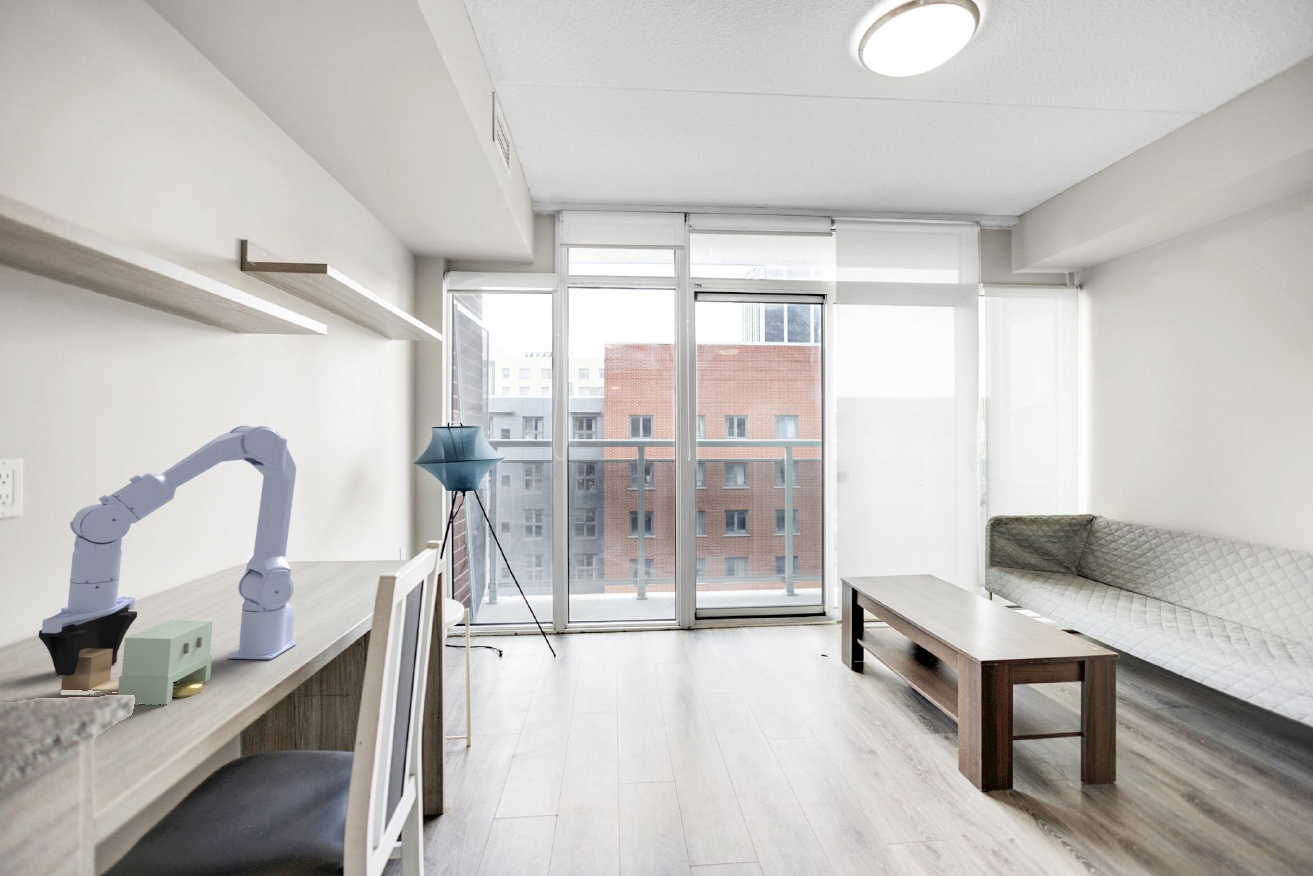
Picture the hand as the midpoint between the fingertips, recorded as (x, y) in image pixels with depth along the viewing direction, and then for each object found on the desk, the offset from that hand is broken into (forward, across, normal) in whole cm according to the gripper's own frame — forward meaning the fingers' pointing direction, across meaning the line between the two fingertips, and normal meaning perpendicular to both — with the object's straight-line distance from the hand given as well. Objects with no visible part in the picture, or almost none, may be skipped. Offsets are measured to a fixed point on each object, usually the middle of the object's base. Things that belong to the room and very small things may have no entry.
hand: (87, 665), depth 93 cm
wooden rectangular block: (+4, 0, +5) cm, 6 cm away
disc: (+4, 0, +15) cm, 16 cm away
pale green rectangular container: (+4, 0, +12) cm, 13 cm away
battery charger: (+4, -11, -8) cm, 14 cm away
